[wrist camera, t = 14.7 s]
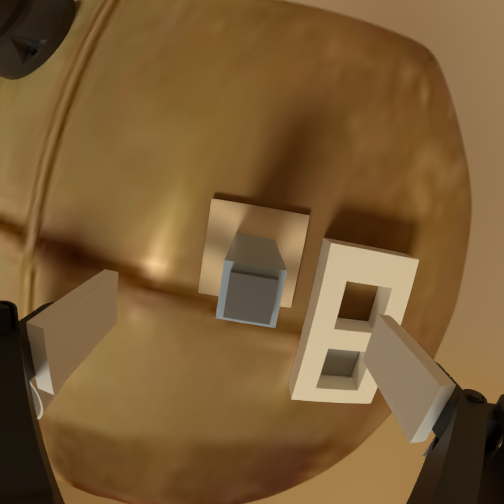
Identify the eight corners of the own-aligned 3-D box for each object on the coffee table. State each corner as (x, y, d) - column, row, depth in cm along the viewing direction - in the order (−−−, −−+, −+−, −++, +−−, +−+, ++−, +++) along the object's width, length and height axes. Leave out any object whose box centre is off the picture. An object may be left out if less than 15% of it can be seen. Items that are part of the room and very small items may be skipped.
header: (323, 237, 33) (331, 242, 29) (404, 253, 33) (418, 259, 30) (288, 382, 36) (291, 399, 33) (362, 387, 36) (370, 403, 33)
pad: (212, 198, 32) (212, 198, 32) (308, 215, 32) (309, 215, 32) (199, 290, 34) (198, 292, 33) (290, 305, 34) (290, 307, 34)
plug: (235, 233, 32) (223, 262, 19) (274, 239, 32) (288, 273, 19) (229, 271, 33) (214, 323, 20) (267, 277, 33) (275, 332, 20)
